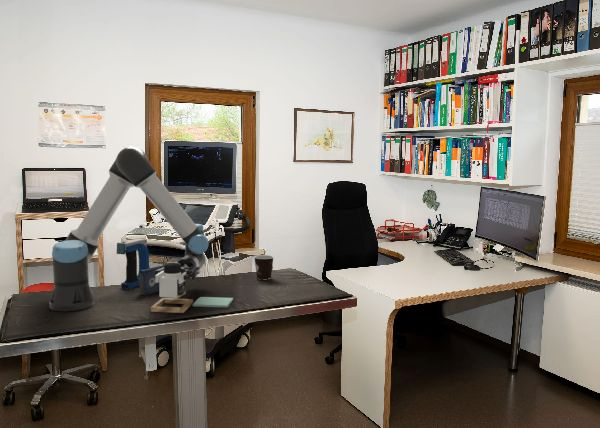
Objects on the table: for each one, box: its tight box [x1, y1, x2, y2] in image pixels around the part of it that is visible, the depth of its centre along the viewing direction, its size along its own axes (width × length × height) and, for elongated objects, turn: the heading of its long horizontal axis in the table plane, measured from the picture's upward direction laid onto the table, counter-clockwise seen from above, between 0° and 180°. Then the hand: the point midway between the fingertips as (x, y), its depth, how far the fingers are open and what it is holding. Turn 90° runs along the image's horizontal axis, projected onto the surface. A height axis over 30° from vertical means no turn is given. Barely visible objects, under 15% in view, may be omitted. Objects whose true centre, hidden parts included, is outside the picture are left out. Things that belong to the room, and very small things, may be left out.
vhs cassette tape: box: [138, 264, 165, 296], centre depth 208 cm, size 18×3×10 cm, turn 145°
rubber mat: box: [192, 296, 234, 308], centre depth 191 cm, size 13×10×1 cm
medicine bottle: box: [158, 261, 187, 299], centre depth 184 cm, size 7×7×12 cm
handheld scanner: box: [116, 238, 150, 290], centre depth 213 cm, size 5×16×20 cm, turn 158°
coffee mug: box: [254, 254, 274, 279], centre depth 228 cm, size 12×9×10 cm
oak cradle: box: [150, 297, 194, 314], centre depth 185 cm, size 12×12×2 cm
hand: (168, 279), depth 179 cm, fingers closed on medicine bottle, 8 cm apart
